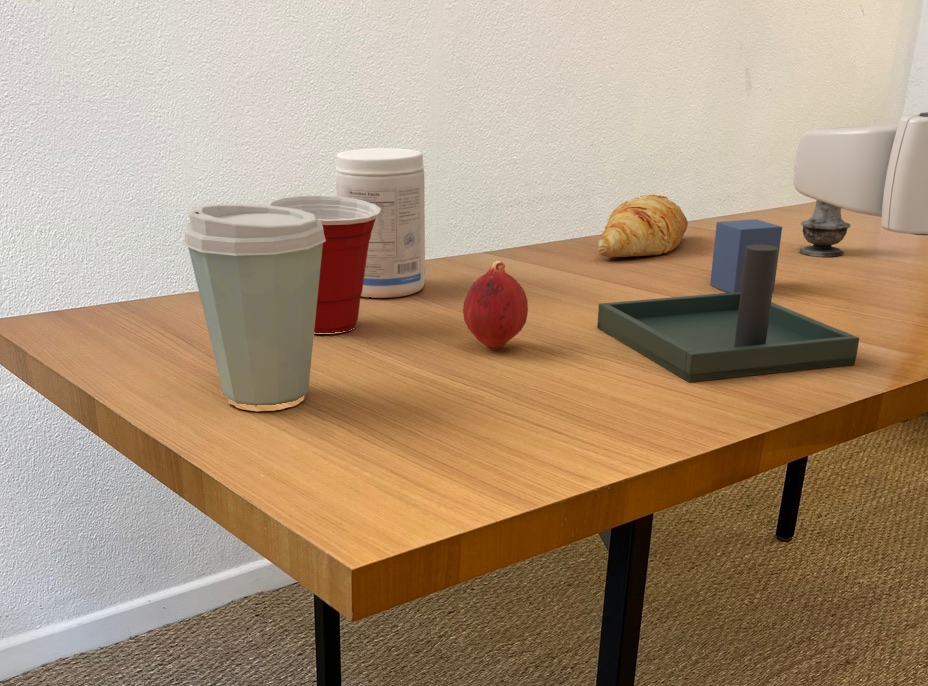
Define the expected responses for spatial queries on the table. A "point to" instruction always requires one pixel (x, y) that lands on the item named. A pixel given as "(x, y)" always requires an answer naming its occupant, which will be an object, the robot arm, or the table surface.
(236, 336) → the disposable coffee cup
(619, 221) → the croissant
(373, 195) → the supplement tub
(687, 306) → the tray
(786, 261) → the table surface
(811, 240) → the salt shaker
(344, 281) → the plastic cup
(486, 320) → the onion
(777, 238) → the block
